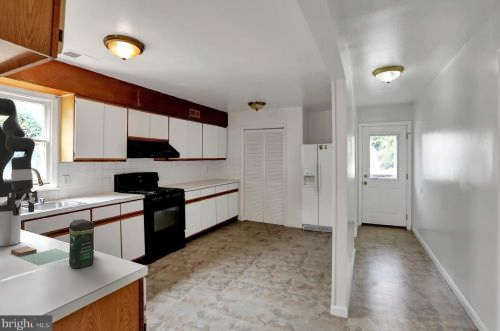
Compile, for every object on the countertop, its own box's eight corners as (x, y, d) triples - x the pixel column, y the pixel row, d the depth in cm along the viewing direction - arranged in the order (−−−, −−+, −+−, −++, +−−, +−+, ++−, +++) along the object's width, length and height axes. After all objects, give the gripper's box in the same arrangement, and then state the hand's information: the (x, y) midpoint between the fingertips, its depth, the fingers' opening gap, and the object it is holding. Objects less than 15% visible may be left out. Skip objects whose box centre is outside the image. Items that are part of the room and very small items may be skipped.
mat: (18, 259, 114) (18, 257, 114) (55, 249, 126) (55, 248, 126) (38, 267, 106) (38, 265, 106) (75, 256, 118) (75, 254, 118)
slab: (20, 258, 115) (11, 255, 120) (36, 254, 121) (27, 251, 125) (20, 253, 115) (11, 249, 120) (36, 249, 121) (27, 246, 125)
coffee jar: (96, 264, 109) (97, 220, 109) (74, 270, 103) (75, 223, 103) (87, 259, 115) (87, 216, 115) (66, 264, 109) (66, 219, 109)
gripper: (26, 179, 130) (28, 211, 130) (0, 180, 116) (1, 217, 116) (41, 178, 131) (43, 210, 131) (17, 179, 116) (19, 216, 116)
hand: (24, 213), depth 123 cm, fingers open, 8 cm apart
